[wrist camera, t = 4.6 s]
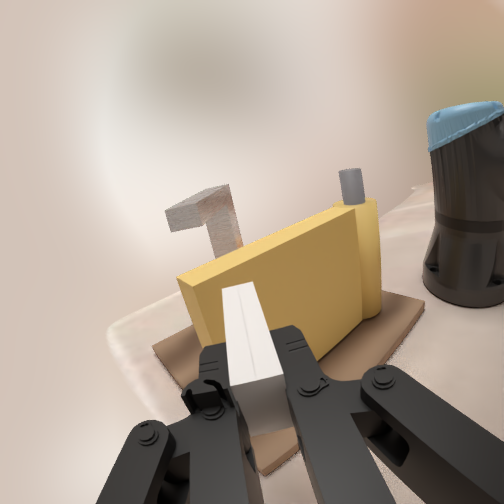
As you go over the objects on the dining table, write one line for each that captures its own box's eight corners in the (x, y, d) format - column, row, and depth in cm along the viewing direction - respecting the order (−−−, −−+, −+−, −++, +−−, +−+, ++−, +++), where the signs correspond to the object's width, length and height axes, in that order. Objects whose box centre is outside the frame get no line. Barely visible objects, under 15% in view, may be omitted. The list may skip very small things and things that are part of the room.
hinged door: (357, 294, 32) (343, 167, 27) (388, 302, 29) (379, 166, 24) (220, 396, 22) (156, 227, 17) (250, 424, 18) (182, 233, 13)
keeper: (237, 306, 40) (205, 189, 34) (257, 304, 39) (228, 183, 33) (216, 363, 29) (164, 210, 23) (243, 362, 28) (195, 202, 22)
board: (424, 309, 28) (424, 301, 27) (264, 476, 15) (261, 470, 14) (296, 274, 45) (294, 268, 45) (155, 353, 32) (151, 345, 32)
